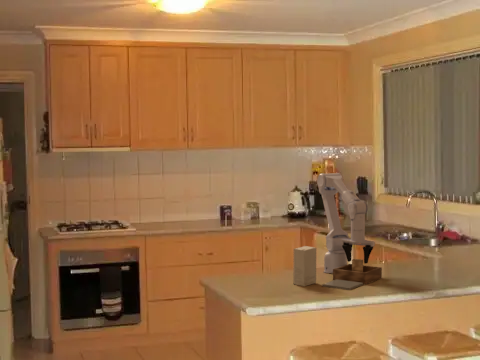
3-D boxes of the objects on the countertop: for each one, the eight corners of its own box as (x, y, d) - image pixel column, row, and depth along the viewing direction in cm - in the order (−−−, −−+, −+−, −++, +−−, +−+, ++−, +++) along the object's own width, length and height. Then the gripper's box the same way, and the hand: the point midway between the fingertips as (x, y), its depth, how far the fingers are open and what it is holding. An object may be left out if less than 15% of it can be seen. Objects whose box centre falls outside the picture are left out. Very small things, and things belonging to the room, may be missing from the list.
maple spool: (350, 274, 306) (350, 260, 305) (354, 272, 309) (355, 258, 309) (359, 275, 303) (360, 261, 303) (364, 274, 307) (364, 259, 306)
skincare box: (305, 281, 302) (305, 245, 301) (317, 283, 298) (317, 247, 297) (292, 284, 296) (292, 247, 295) (304, 286, 292) (304, 249, 291)
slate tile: (322, 286, 292) (322, 284, 292) (336, 281, 302) (336, 279, 302) (349, 290, 285) (349, 287, 285) (363, 284, 295) (363, 282, 295)
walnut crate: (332, 279, 304) (332, 269, 304) (349, 274, 317) (349, 263, 316) (365, 284, 296) (366, 273, 295) (381, 278, 308) (381, 267, 308)
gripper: (337, 229, 306) (337, 261, 307) (369, 232, 297) (369, 265, 298) (345, 227, 312) (345, 259, 312) (377, 230, 303) (376, 262, 304)
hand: (357, 262), depth 306 cm, fingers open, 7 cm apart
